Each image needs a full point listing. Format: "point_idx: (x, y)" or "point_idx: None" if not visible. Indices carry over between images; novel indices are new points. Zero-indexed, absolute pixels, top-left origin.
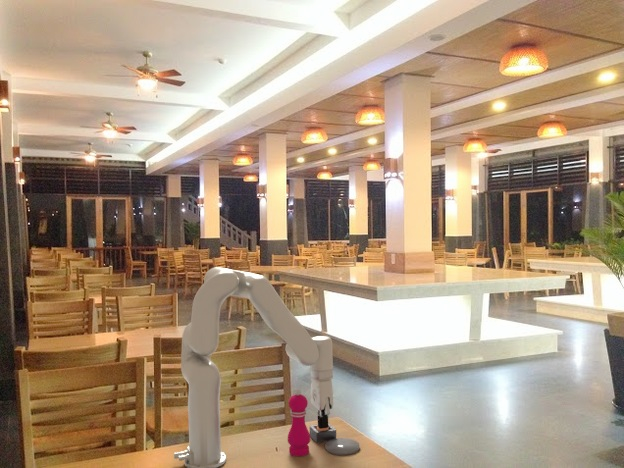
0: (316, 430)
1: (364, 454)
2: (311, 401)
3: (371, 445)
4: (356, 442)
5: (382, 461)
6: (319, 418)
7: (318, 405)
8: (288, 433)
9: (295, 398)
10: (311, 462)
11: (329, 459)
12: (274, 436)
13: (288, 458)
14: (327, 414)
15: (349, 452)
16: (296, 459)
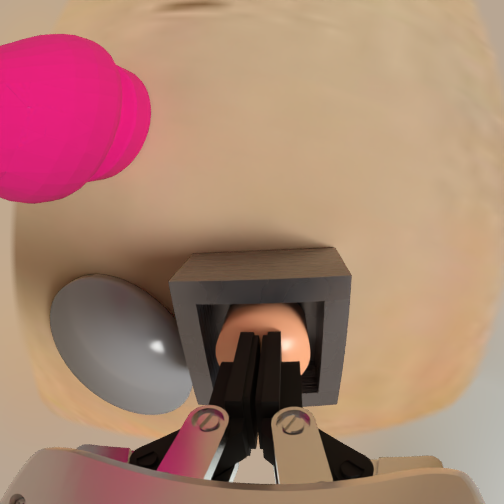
0: (219, 298)
1: (71, 380)
2: (422, 501)
3: (140, 430)
4: (135, 409)
5: (40, 388)
6: (226, 392)
7: (42, 495)
8: (40, 35)
9: None
10: None
11: (29, 255)
12: (395, 31)
13: None
14: (87, 451)
15: (59, 346)
16: None
